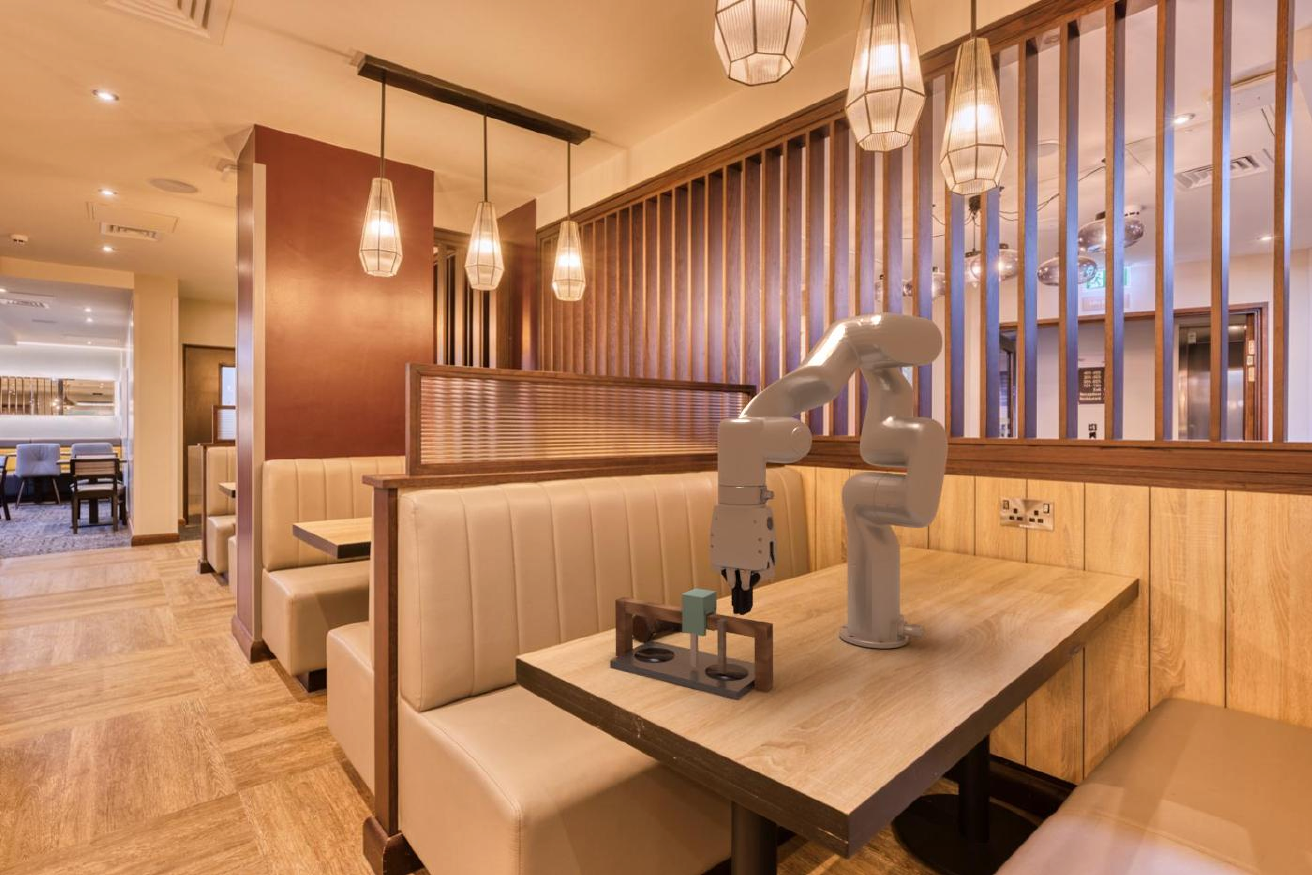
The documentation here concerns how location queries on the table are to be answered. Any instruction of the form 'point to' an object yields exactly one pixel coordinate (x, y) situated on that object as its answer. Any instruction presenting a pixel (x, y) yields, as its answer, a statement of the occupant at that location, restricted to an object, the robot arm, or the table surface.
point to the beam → (713, 621)
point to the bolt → (651, 627)
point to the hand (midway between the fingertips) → (742, 612)
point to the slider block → (696, 617)
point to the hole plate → (688, 669)
